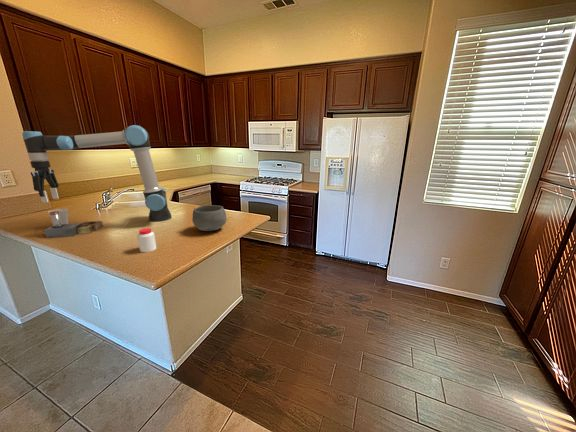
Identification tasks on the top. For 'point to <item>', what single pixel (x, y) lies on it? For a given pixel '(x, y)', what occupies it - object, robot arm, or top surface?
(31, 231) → the top surface
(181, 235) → the top surface
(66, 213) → the cup
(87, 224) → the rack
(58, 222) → the cylinder
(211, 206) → the bowl
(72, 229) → the socket block
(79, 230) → the tan square peg
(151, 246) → the pill bottle
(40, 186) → the robot arm
